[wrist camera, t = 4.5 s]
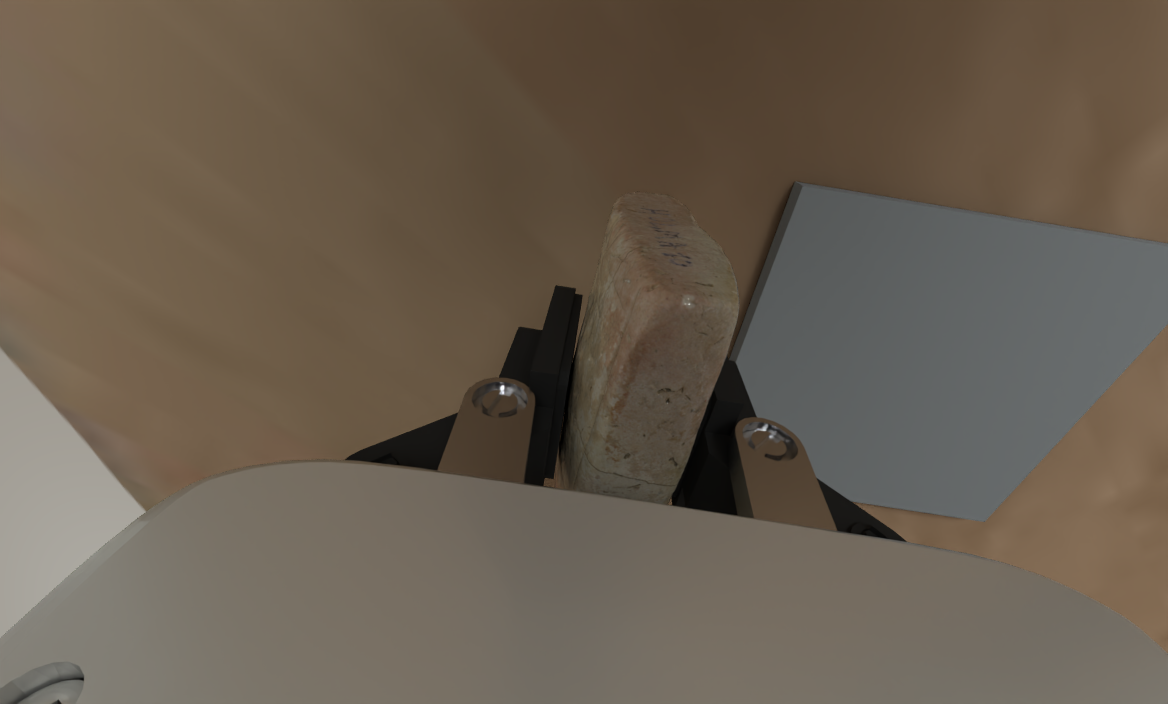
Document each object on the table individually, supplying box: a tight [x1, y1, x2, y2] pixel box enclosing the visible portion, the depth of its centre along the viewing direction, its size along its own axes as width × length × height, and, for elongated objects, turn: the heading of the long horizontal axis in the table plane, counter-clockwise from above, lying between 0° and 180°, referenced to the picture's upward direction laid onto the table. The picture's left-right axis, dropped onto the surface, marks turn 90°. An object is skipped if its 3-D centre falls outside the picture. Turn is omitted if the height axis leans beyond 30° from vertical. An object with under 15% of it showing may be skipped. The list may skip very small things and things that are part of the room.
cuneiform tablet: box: [555, 192, 739, 505], centre depth 11 cm, size 6×4×12 cm
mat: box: [729, 182, 1168, 522], centre depth 19 cm, size 14×15×1 cm
